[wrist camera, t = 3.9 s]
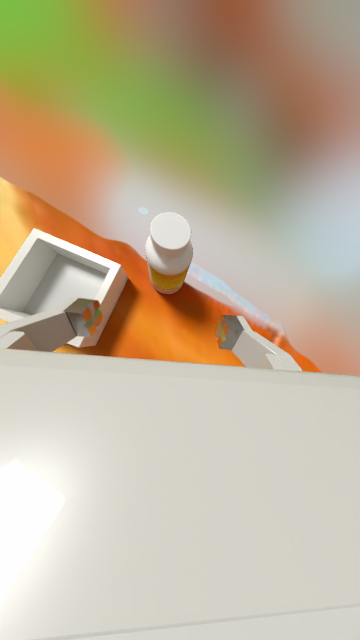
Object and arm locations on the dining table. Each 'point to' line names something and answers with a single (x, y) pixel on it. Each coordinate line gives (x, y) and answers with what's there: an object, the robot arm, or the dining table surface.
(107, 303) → the box
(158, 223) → the supplement bottle
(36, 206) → the dining table surface
